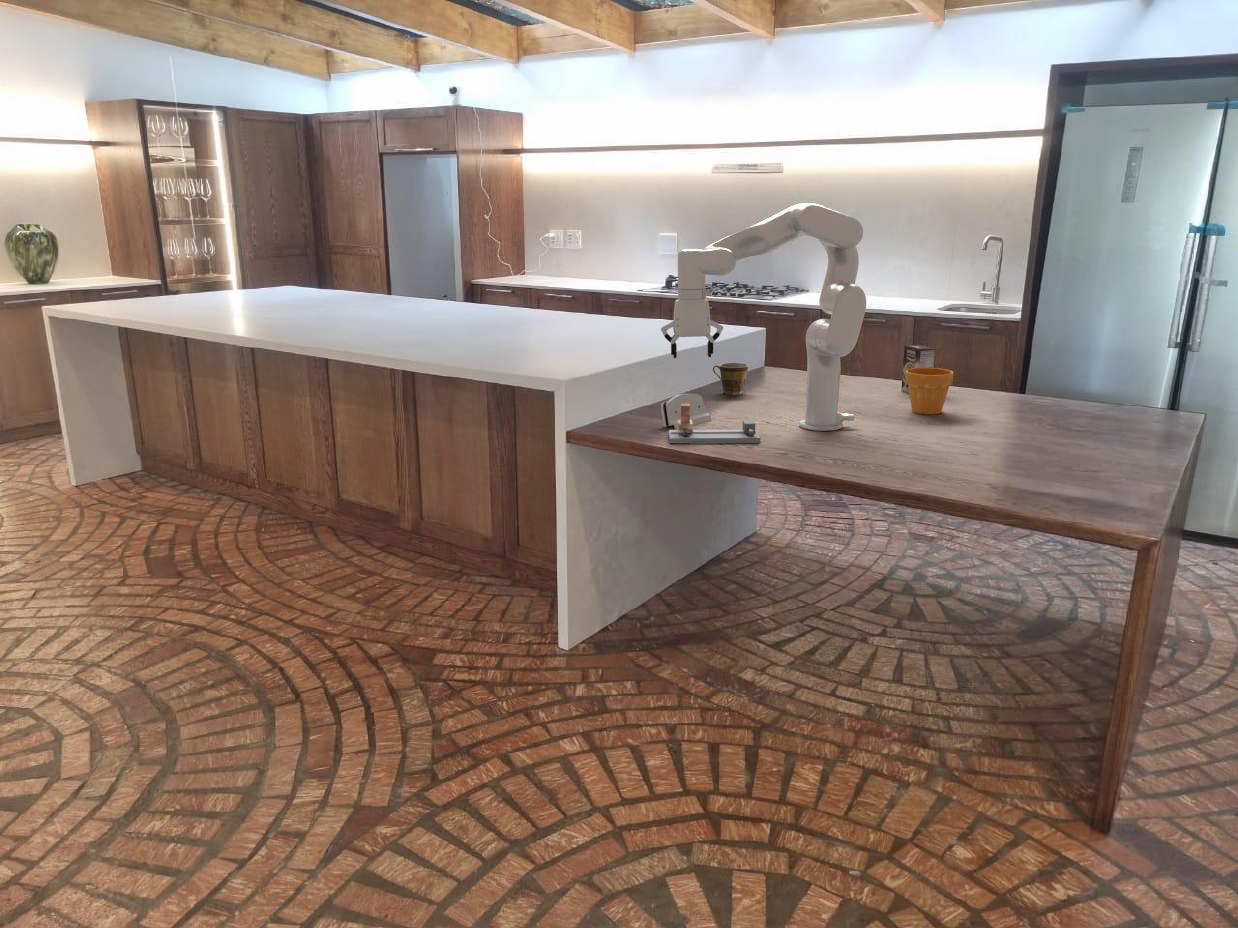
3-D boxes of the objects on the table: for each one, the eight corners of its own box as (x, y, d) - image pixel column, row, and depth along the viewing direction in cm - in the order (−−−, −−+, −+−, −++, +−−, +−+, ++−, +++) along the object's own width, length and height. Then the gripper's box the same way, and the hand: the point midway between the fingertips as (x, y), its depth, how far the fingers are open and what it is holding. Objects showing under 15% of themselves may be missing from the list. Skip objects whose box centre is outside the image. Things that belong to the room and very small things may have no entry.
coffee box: (900, 390, 315) (903, 345, 311) (915, 389, 317) (919, 344, 313) (915, 395, 307) (919, 348, 303) (931, 394, 309) (935, 347, 304)
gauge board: (755, 434, 257) (756, 418, 255) (760, 443, 247) (760, 426, 246) (668, 434, 257) (668, 419, 256) (670, 443, 247) (670, 427, 246)
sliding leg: (691, 429, 255) (691, 402, 253) (693, 437, 247) (693, 409, 245) (677, 430, 255) (677, 403, 253) (679, 437, 247) (679, 409, 245)
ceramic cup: (751, 392, 316) (752, 364, 313) (740, 397, 308) (740, 368, 305) (718, 388, 323) (719, 361, 320) (706, 393, 315) (706, 365, 312)
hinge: (675, 429, 264) (667, 396, 263) (664, 432, 267) (656, 400, 267) (712, 420, 275) (704, 388, 274) (701, 423, 278) (693, 392, 278)
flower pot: (904, 415, 277) (907, 374, 274) (901, 406, 291) (904, 366, 287) (952, 417, 274) (956, 375, 271) (947, 408, 287) (950, 368, 284)
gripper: (721, 293, 249) (721, 354, 253) (659, 294, 249) (660, 355, 253) (724, 295, 241) (724, 358, 246) (660, 297, 242) (661, 360, 246)
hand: (692, 357), depth 250 cm, fingers open, 9 cm apart
